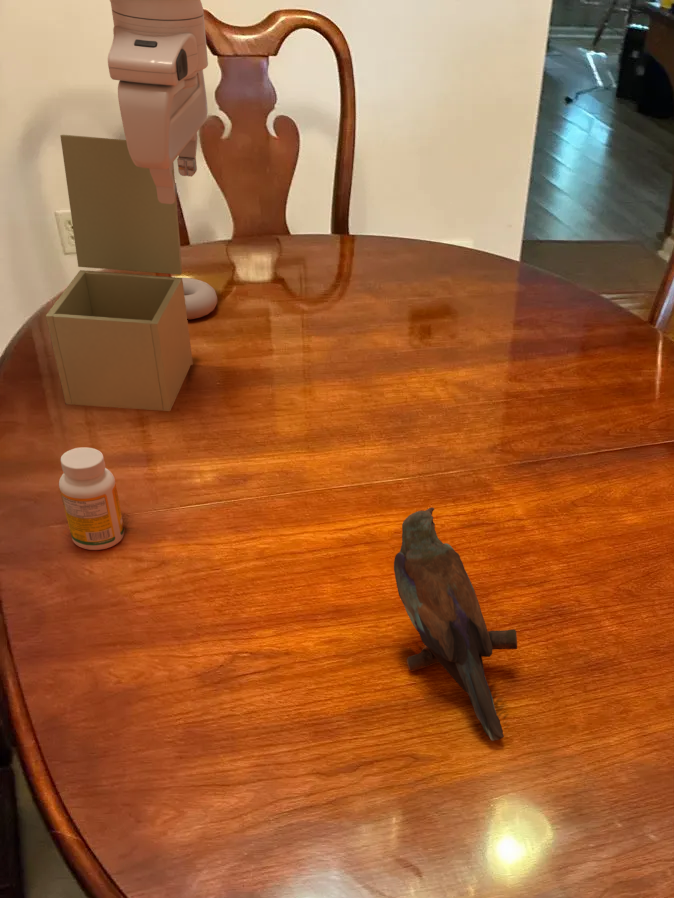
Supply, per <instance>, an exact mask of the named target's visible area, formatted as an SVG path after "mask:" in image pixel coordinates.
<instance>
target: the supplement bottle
mask: <svg viewBox="0 0 674 898" xmlns="http://www.w3.org/2000/svg"><path fill="white" fill-rule="evenodd" d="M60 466H61V470H62V472H63V473H62V474H61V476H60V478H59V480H58V481H59V482H58V488H59V493H60V497H61V500H62V505H63V508H64V513H65V517H66V522H67V525H68V528H69V532H70V537H71V541H72V542H73V543H74V544H75V545H76V546H77V547H79V548H82V549H84V550H89V551H101V550H106V549H110V548H111V547H114V546H115V545H118V544H119V543H120V542H121V541H122V540H123V538H124V536H125V527H124V526H123V525H124V521H123V520H124V519H123V515H122V514H123V513H122V510H121V509H122V508H121V503H120V500H119V495H118V494H119V493H118V489H117V483H116V479H115V478H116V477H115V476H114V474H113V473H112V471H111V470H110V469H108V468H107V467H106V462H105V457H104V454H103V453H102V452H101V451H100V450H99V449H97V448H94V447H87V446H86V447H84V446H82V447H80V446H79V447H75V448H72V449H69V450H67V451H65V452H64V453H63V454H62V455H61V457H60Z"/></svg>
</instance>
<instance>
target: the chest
mask: <svg viewBox="0 0 674 898" xmlns="http://www.w3.org/2000/svg"><path fill="white" fill-rule="evenodd" d="M182 278H183V277H176V276H166V275H165V276H163V275H152V274H151V275H150V274H138V273H125V272H113V271H112V272H110V271H98V270H85V269H84V270H83V269H80V270H79V271H78V272H77V273H76V275H75V276H74V277H73V279H72V280H71V281H70V283H69V284H68V285H67V286H66V288H65V289H64V291H63V292H62V293H61V294H60V296H59V297H58V299H57V300H56V301H55V302H54V304H53V305H52V306H51V308H50V309H49V310H48V312H47V313H46V314H45V319H46V324H47V329H48V332H49V338H50V341H51V345H52V351H53V356H54V359H55V363H56V368H57V372H58V377H59V380H60V385H61V390H62V394H63V398H64V402H65V403H64V404H65V405H72V406H84V407H85V406H86V407H99V408H101V407H102V408H116V409H130V410H131V409H133V410H147V411H149V410H150V411H161V412H171V411H172V408H173V405H174V404H175V402H176V399H177V397H178V395H179V393H180V390H181V388H182V386H183V384H184V381H185V379H186V377H187V375H188V373H189V370H190V368H191V366H193V365H194V361H193V360H194V359H193V354H192V353H193V352H192V344H191V337H190V330H189V319H188V320H187V312H186V305H185V297H184V289H183V281H182Z"/></svg>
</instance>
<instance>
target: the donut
mask: <svg viewBox="0 0 674 898" xmlns="http://www.w3.org/2000/svg"><path fill="white" fill-rule="evenodd" d="M181 278H182V281H183V289H184V297H185V305H186V312H187V319H188V320H195V319H200V318H203V317H205V316H208V315H209V314H210V313H212V312H213V311H214V310H215V308H216V306H217V304H218V296H217V292H216V289H215V288H214V287H213V286H211V284H209V283H207V282H205V281H204V280H201V279H196V278H193V277H181Z"/></svg>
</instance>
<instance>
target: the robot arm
mask: <svg viewBox="0 0 674 898" xmlns="http://www.w3.org/2000/svg"><path fill="white" fill-rule="evenodd" d="M109 2H110V7H111V15H112V21H113V28H112V31H113V39H112V43H111V46H110V49H109V52H108V55H107V66H108V71H109V72H108V73H109V76H110V77H109V78H110V79H111V80H113V81H114V80H115V81H118V84H117V99H118V106H119V111H120V117H121V121H122V122H121V123H122V127H123V133H124V137H125V140H126V142H127V147H128V151H129V154H130V156H131V158H132V160H133V162H134V164H135V165H136V166H137V167H142V168H149V170H150V173H151V176H152V178H153V181H154V183H155V185H156V189H157V197H158V200H159V202H161V203H164V204H173V203H174V202H175V200H178V189H177V186H178V185H177V183H176V182H175V183H174V180H173V175H172V170H173V164H174V162H175V160H176V162H177V167H178V168H177V169H178V174H179V175H180V176H182V177H190V178H191V177H193V176H195V174H196V173H197V170H198V166H197V151H198V150H197V149H198V148H197V147H198V132H199V130H200V128H202V126H203V125H204V124H205V122H206V121H207V119H208V98H207V91H206V89H207V88H206V82H205V74H204V70H205V69H206V68H208V66H209V58H208V47H207V37H206V26H205V14H204V12H205V11H204V7H203V3H202V1H201V0H109ZM172 163H173V164H172Z"/></svg>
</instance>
